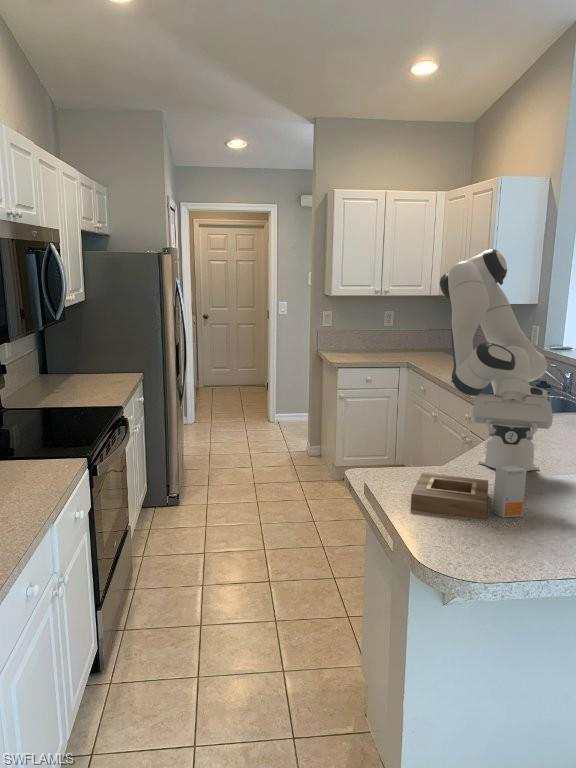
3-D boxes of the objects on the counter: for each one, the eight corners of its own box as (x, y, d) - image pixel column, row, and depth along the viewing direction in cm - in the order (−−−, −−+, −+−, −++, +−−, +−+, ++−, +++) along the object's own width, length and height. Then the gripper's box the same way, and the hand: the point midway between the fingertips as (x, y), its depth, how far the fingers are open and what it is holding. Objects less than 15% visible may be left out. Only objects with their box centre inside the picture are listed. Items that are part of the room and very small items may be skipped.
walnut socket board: (421, 486, 166) (422, 471, 165) (487, 494, 160) (488, 479, 159) (410, 509, 145) (411, 492, 145) (485, 519, 139) (487, 502, 139)
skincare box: (502, 518, 140) (506, 470, 139) (491, 512, 144) (495, 466, 143) (523, 516, 142) (527, 469, 141) (512, 511, 146) (516, 465, 145)
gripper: (473, 386, 162) (469, 426, 154) (553, 391, 155) (553, 433, 147) (473, 400, 166) (469, 439, 158) (550, 405, 159) (550, 447, 151)
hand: (510, 437), depth 152 cm, fingers open, 8 cm apart
